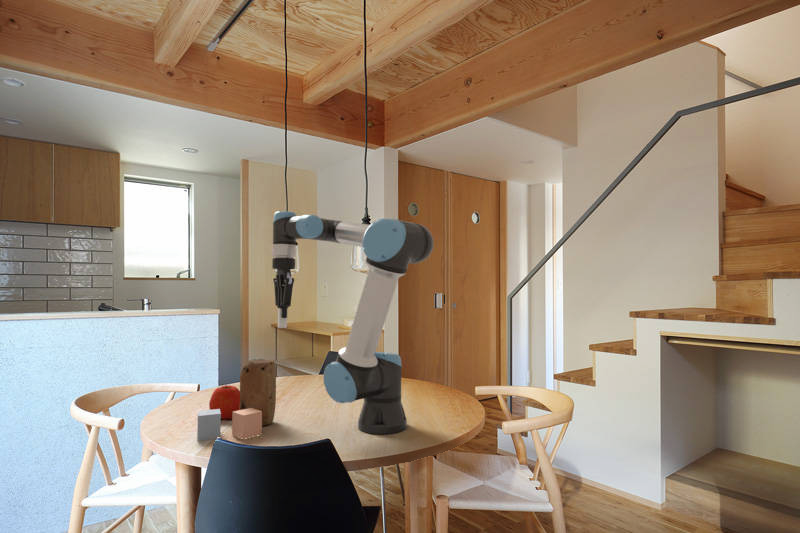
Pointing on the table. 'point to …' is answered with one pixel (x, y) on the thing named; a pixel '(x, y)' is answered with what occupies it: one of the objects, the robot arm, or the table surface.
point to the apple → (225, 400)
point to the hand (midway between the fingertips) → (282, 327)
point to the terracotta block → (246, 423)
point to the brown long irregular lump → (259, 388)
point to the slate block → (209, 424)
